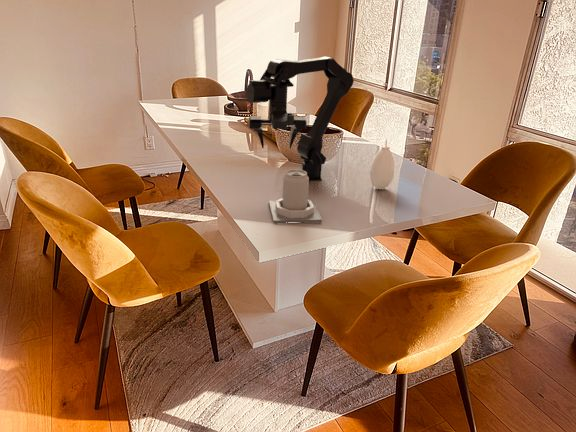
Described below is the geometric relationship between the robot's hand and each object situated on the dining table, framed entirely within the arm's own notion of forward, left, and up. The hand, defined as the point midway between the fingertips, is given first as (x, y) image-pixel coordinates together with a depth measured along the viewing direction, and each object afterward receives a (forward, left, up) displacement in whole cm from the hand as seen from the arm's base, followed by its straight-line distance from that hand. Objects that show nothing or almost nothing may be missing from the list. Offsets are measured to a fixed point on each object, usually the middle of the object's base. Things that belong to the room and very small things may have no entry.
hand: (276, 147), depth 150 cm
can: (-3, +24, -12) cm, 27 cm away
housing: (-3, +24, -13) cm, 27 cm away
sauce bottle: (-36, +6, -13) cm, 39 cm away
